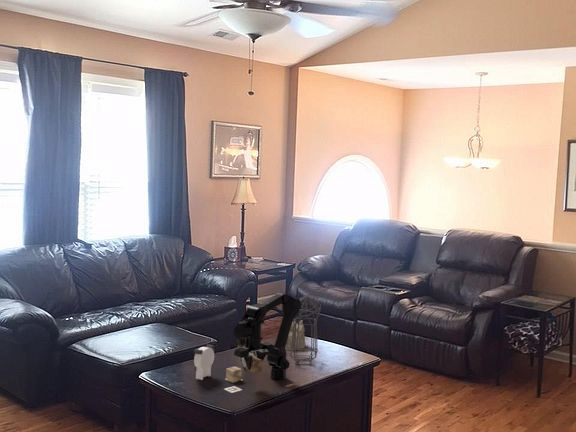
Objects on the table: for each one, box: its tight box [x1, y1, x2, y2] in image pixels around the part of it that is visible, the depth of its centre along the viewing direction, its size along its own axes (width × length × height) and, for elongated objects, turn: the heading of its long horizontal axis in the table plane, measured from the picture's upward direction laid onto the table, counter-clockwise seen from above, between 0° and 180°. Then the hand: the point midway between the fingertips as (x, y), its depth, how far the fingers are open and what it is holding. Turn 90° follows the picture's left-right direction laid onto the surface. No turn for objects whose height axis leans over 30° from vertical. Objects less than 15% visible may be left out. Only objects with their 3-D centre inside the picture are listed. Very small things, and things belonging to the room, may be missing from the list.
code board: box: [224, 378, 243, 394], centre depth 277 cm, size 18×20×1 cm
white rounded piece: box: [193, 344, 216, 381], centre depth 286 cm, size 12×11×15 cm
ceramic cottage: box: [285, 319, 307, 351], centre depth 345 cm, size 16×16×15 cm
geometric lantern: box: [289, 295, 322, 366], centre depth 314 cm, size 16×16×35 cm
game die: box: [240, 352, 256, 369], centre depth 303 cm, size 9×8×10 cm
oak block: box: [225, 366, 243, 383], centre depth 284 cm, size 5×5×5 cm
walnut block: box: [245, 357, 263, 374], centre depth 275 cm, size 5×5×5 cm
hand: (253, 368), depth 275 cm, fingers closed on walnut block, 5 cm apart
